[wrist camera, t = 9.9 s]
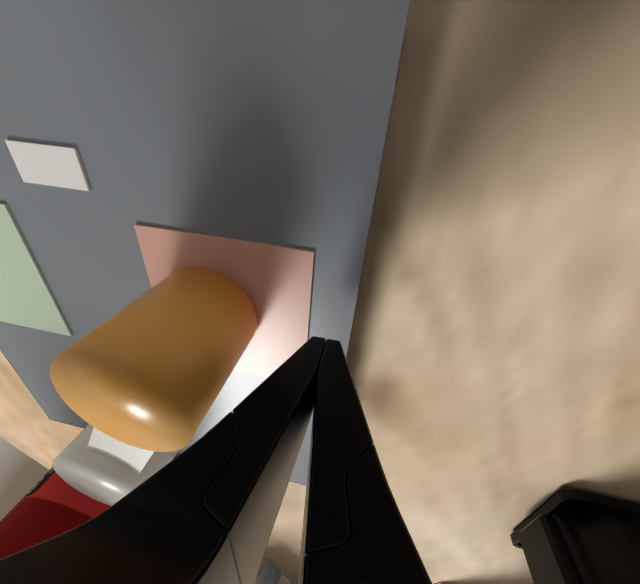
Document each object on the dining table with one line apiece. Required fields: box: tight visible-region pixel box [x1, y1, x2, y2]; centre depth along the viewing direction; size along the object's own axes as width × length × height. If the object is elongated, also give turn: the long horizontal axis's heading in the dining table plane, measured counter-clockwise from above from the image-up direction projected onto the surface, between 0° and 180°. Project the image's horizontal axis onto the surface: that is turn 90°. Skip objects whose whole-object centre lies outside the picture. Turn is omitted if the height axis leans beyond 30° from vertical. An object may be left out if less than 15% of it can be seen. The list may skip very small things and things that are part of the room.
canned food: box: [0, 467, 111, 559], centre depth 18 cm, size 8×8×11 cm
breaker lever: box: [50, 267, 257, 506], centre depth 11 cm, size 14×4×4 cm, turn 146°
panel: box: [0, 0, 410, 486], centre depth 12 cm, size 18×20×2 cm
